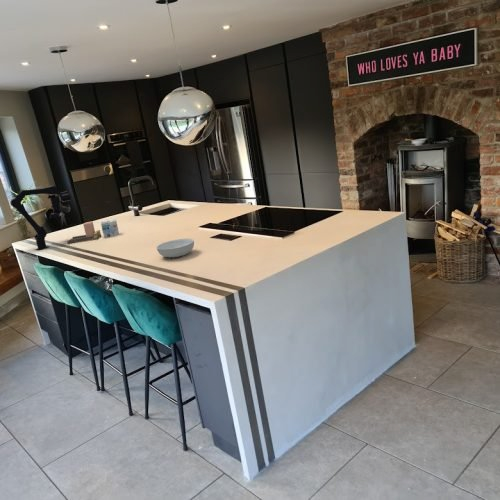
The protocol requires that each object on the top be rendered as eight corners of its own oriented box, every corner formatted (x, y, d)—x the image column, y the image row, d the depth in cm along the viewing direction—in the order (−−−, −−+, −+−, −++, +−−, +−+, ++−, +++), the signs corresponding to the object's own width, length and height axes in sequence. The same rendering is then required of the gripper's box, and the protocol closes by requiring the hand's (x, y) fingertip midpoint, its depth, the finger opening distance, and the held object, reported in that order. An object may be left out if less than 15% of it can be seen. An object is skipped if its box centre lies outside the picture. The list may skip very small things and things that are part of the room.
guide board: (97, 239, 335) (95, 233, 334) (67, 244, 335) (66, 237, 334) (101, 235, 346) (99, 229, 345) (72, 240, 345) (71, 234, 344)
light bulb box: (104, 238, 336) (100, 223, 333) (104, 236, 343) (100, 221, 340) (119, 235, 339) (116, 220, 336) (119, 233, 345) (116, 219, 342)
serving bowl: (197, 247, 274) (195, 236, 273) (194, 258, 254) (192, 245, 252) (161, 252, 275) (159, 241, 273) (155, 263, 254) (153, 251, 253)
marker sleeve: (93, 236, 337) (90, 223, 334) (86, 237, 337) (83, 224, 334) (95, 234, 343) (92, 221, 340) (88, 235, 343) (85, 222, 340)
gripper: (63, 204, 324) (68, 226, 328) (71, 199, 342) (76, 220, 346) (46, 206, 323) (52, 228, 328) (56, 201, 341) (61, 222, 346)
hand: (61, 225), depth 337 cm, fingers closed
